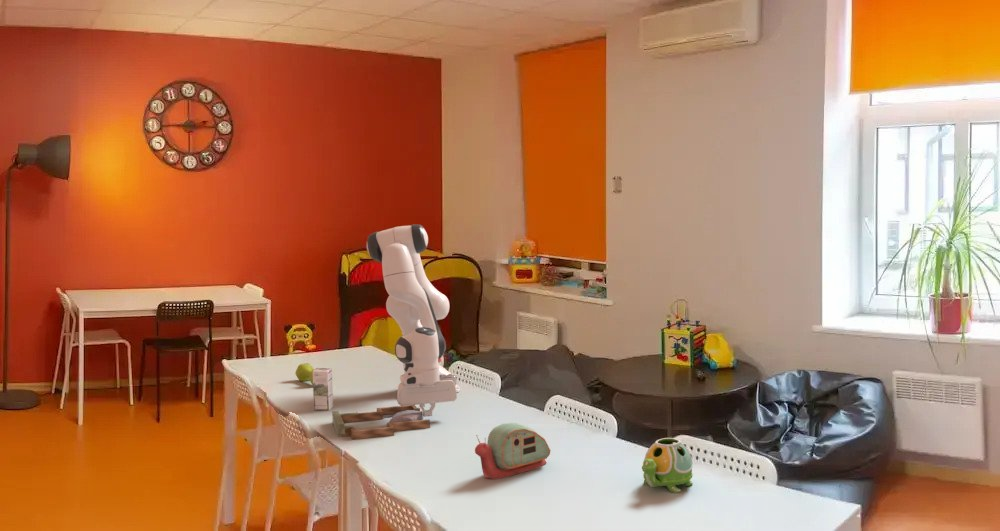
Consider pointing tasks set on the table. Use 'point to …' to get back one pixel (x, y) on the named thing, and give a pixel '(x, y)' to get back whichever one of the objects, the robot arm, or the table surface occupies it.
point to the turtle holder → (667, 465)
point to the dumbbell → (305, 372)
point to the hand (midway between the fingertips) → (427, 416)
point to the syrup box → (322, 388)
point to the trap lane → (380, 414)
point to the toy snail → (512, 451)
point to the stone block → (407, 416)
